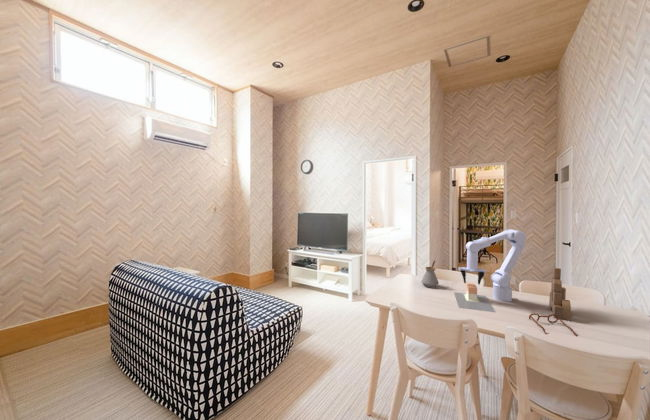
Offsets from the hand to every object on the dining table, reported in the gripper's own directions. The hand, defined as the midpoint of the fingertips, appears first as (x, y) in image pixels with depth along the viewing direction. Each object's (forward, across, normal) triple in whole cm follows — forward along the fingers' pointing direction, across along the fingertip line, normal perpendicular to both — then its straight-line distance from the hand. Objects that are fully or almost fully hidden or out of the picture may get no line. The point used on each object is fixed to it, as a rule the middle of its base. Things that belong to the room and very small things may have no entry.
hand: (471, 283), depth 161 cm
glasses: (+11, +30, -26) cm, 41 cm away
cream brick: (+9, 0, 0) cm, 9 cm away
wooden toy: (+11, +41, -6) cm, 43 cm away
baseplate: (+10, 0, -6) cm, 12 cm away
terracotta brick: (+5, 0, 0) cm, 5 cm away
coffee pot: (+10, -22, +22) cm, 33 cm away
